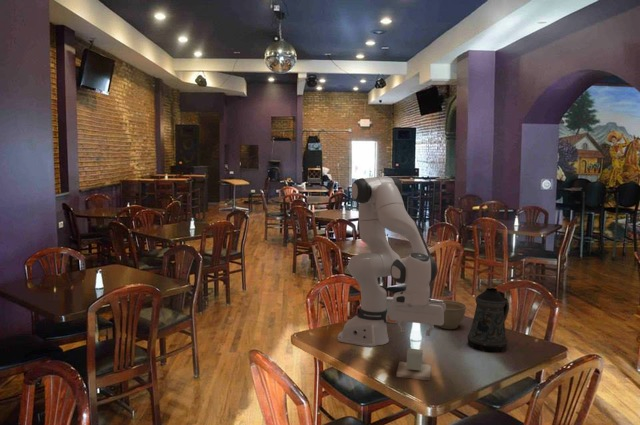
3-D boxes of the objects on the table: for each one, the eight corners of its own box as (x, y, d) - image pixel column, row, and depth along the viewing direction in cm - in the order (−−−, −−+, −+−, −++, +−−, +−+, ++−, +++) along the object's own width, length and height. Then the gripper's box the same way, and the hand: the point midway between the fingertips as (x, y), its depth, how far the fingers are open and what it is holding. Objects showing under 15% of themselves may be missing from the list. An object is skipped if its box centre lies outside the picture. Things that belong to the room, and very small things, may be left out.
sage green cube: (406, 368, 195) (407, 353, 194) (407, 363, 200) (408, 348, 199) (421, 370, 194) (422, 354, 193) (421, 365, 199) (422, 349, 198)
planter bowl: (424, 322, 259) (425, 301, 258) (453, 320, 264) (454, 299, 263) (441, 333, 244) (442, 310, 243) (471, 330, 249) (472, 307, 248)
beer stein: (463, 348, 224) (466, 290, 222) (472, 335, 241) (475, 282, 239) (503, 355, 217) (507, 296, 214) (510, 342, 234) (514, 286, 231)
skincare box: (384, 322, 258) (385, 298, 257) (385, 320, 262) (385, 296, 261) (397, 323, 257) (398, 299, 256) (397, 320, 261) (398, 297, 260)
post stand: (396, 376, 193) (397, 357, 192) (399, 364, 204) (400, 346, 204) (429, 380, 190) (430, 361, 189) (431, 368, 201) (431, 349, 201)
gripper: (446, 298, 195) (443, 334, 197) (390, 292, 200) (389, 328, 201) (446, 302, 189) (443, 339, 191) (389, 297, 194) (387, 333, 195)
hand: (415, 333), depth 196 cm, fingers open, 8 cm apart
